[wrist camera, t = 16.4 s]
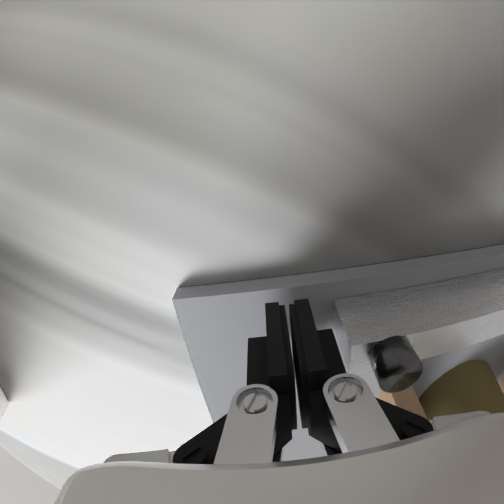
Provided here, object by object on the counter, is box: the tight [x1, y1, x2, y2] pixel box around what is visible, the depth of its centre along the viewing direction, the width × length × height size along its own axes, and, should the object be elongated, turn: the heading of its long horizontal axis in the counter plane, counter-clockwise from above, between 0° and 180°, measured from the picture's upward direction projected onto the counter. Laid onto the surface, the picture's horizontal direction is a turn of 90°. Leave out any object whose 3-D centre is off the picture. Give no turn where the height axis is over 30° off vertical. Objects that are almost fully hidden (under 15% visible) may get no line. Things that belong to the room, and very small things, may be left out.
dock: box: [172, 244, 504, 461], centre depth 14 cm, size 16×24×4 cm, turn 98°
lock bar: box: [333, 268, 504, 393], centre depth 11 cm, size 2×10×4 cm, turn 97°
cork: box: [419, 359, 504, 420], centre depth 10 cm, size 6×6×11 cm
